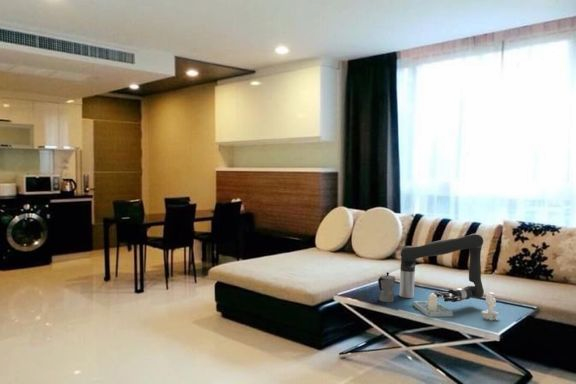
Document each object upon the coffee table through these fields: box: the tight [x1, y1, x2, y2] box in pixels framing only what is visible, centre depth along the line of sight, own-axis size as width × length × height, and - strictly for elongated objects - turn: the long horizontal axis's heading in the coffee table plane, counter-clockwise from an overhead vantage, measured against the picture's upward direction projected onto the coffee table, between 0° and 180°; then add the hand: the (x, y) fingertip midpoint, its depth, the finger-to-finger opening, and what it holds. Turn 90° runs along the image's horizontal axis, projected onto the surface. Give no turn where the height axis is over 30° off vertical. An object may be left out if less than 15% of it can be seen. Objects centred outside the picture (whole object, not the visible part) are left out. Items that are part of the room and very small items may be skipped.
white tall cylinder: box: [427, 292, 438, 312], centre depth 265 cm, size 5×5×12 cm
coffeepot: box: [377, 271, 396, 303], centre depth 291 cm, size 15×9×18 cm, turn 129°
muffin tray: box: [412, 300, 454, 318], centre depth 273 cm, size 22×15×3 cm
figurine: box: [480, 291, 500, 321], centre depth 260 cm, size 7×9×15 cm
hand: (438, 298), depth 268 cm, fingers open, 8 cm apart
